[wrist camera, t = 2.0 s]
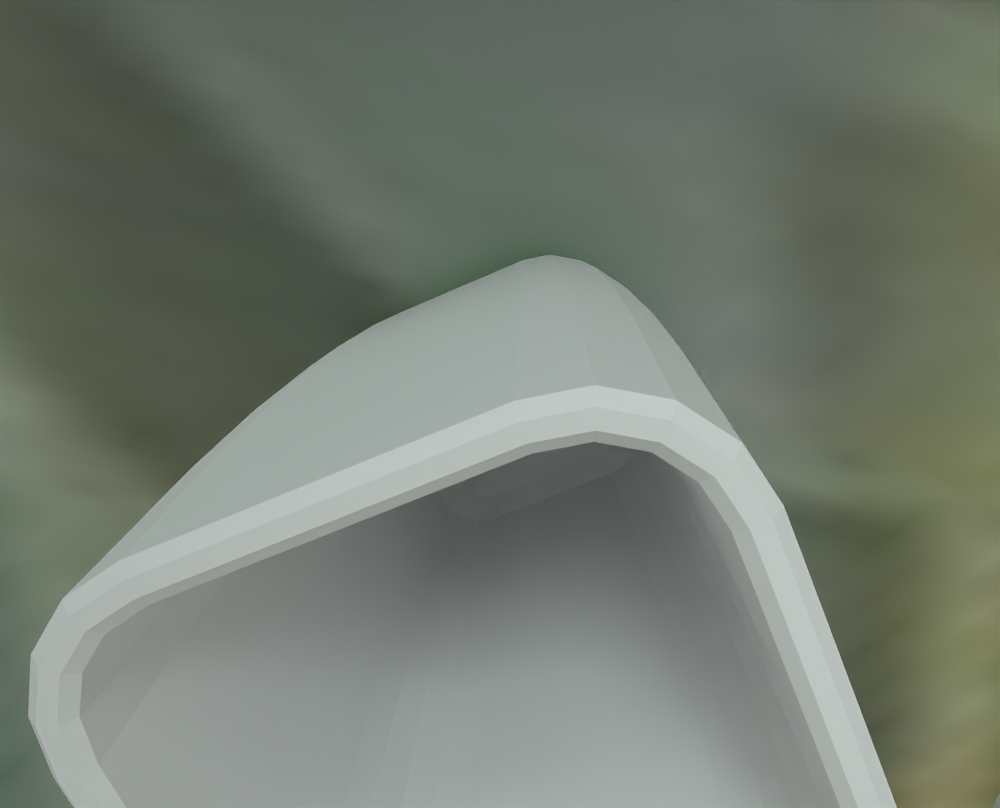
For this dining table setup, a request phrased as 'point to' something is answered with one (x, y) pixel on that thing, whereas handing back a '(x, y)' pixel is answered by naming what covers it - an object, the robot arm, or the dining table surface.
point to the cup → (463, 589)
